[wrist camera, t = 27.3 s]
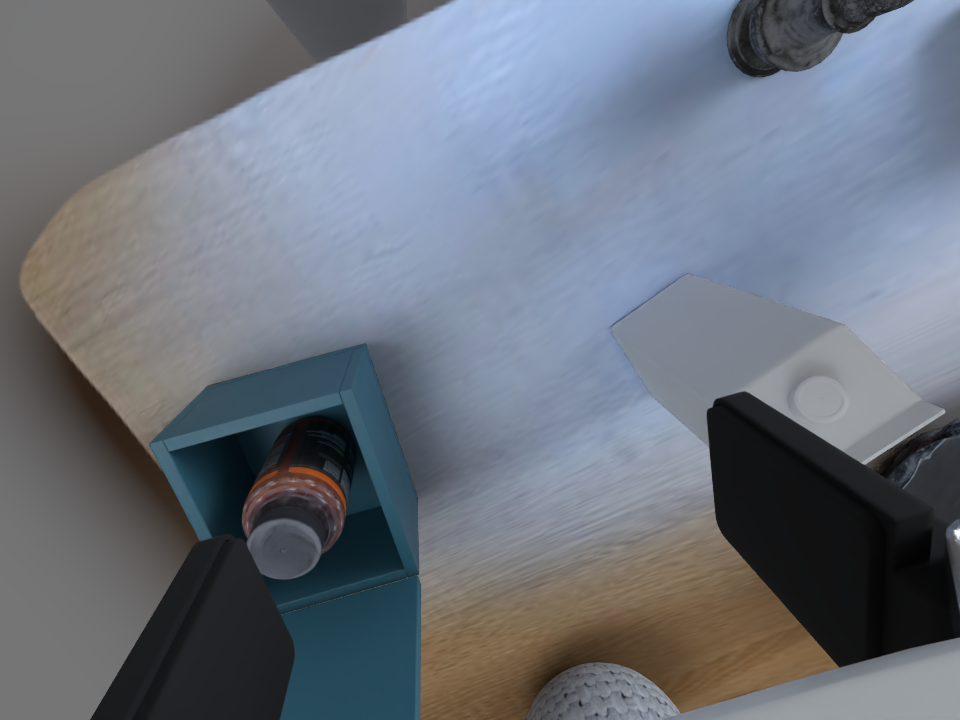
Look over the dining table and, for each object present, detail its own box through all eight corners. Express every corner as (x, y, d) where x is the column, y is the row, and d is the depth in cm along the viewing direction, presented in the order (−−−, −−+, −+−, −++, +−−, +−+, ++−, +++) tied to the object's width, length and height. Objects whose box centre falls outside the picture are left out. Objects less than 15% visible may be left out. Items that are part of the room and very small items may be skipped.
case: (206, 386, 37) (147, 443, 29) (365, 343, 38) (352, 387, 29) (277, 538, 42) (244, 626, 33) (417, 498, 42) (419, 575, 34)
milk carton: (726, 344, 41) (968, 467, 23) (651, 396, 42) (829, 554, 24) (686, 271, 39) (920, 346, 21) (607, 327, 39) (768, 447, 22)
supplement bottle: (268, 477, 39) (214, 587, 28) (283, 406, 37) (232, 493, 27) (348, 492, 40) (326, 602, 30) (366, 423, 39) (349, 514, 28)
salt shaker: (711, 72, 35) (856, 17, 23) (738, -31, 33) (909, -144, 22) (789, 90, 36) (964, 46, 24) (820, -9, 34) (1024, -106, 23)
